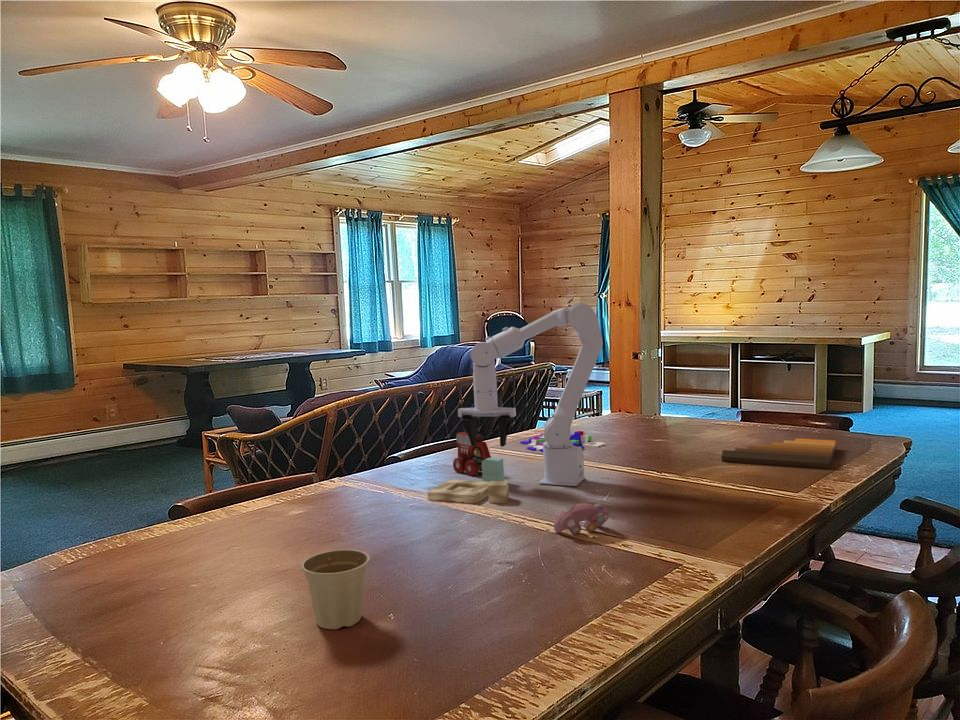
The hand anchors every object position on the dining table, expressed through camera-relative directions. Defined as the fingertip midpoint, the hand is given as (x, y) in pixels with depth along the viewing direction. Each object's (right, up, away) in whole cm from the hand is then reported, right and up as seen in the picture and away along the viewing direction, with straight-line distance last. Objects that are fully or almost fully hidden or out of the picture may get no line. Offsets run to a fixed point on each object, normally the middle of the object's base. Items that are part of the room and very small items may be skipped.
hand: (488, 445), depth 168 cm
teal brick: (+1, -9, 0) cm, 9 cm away
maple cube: (+2, -11, -15) cm, 19 cm away
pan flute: (+79, -5, +14) cm, 80 cm away
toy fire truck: (-4, -9, +13) cm, 16 cm away
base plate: (-6, -10, -9) cm, 15 cm away
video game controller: (+17, -12, -39) cm, 45 cm away
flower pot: (-22, -16, -72) cm, 77 cm away
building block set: (+22, -6, +43) cm, 48 cm away
